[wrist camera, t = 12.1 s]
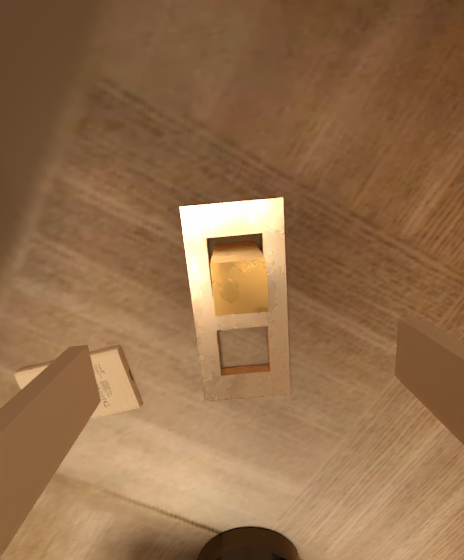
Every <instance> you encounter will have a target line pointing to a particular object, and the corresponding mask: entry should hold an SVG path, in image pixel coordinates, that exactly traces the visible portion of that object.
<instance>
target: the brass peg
mask: <svg viewBox="0 0 464 560" xmlns="http://www.w3.org/2000/svg"><path fill="white" fill-rule="evenodd" d="M210 268H211V278H212V288H213V298H214V308H215V316H221V315H233V314H245V313H258V312H269V304H268V284H267V264H266V258H265V256H264V255H263V254H262V252H261V251H260V249H259V248H258V247H257V245H256V244H255V242H254V241H247V242H235V243H223V244H215V248H214V251H213V255H212V258H211V262H210Z"/></svg>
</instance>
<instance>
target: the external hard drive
mask: <svg viewBox="0 0 464 560" xmlns="http://www.w3.org/2000/svg"><path fill="white" fill-rule="evenodd" d="M89 353H90V357H91V361H92V365H93V370H94V374H95V378H96V382H97V386H98V391H99V395H100V399H101V402H100V403H99V405H98V406H97V408H96V410H95V411H94V413H93V414H92V416H91V417H90V419H93V418H98V417H102V416H106V415H111V414H115V413H119V412H124V411H128V410H132V409H137V408H141V406H142V404H143V403H142V400H141V398H140V395H139V393H138V390H137V388H136V385H135V383H134V380H132V378H131V376H130V373H129V367H128V365H127V362H126V359H125V357H124V354H123V352H122V349H121V347H120V345H119V346H115V347H111V348H106V349H102V350H98V351H94V352H89ZM52 362H53V361H51V362H47V363H43V364H39V365H35V366H30V367H26V368H22V369H19V370H18V371H16V372H15V374H14V375H15V379H16V381H17V382H18V384H19V386H20V388H21V390H22V389H23V388H24V387H25V386H26V385H27V384H28V383H30V382H31V381H32V380H33V379H34V378H35V377H36V376H37V375H39V374H40V373H41V372H42V371H43V370H44V369H45V368H46V367H47V366H49V365H50V364H51V363H52Z"/></svg>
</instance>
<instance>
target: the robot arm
mask: <svg viewBox="0 0 464 560" xmlns="http://www.w3.org/2000/svg"><path fill="white" fill-rule="evenodd" d="M395 376H396V377H397V378H398V379H399V380H400V381H401V382H402V383H403V384H404V385H405V386H406V387H407V388H408V389H409V390H410V391H411V392H412V393H413V394H414V395H415V396H416V397H417V398H418V399H419V400H420V401H421V402H422V403H423V404H424V405H425V406H426V407H427V408H428V409H429V410H430V411H431V412H432V413H433V414H434V415H435V416H436V417H437V418H438V419H439V420H440V421H441V422H442V423H443V424H444V425H445V426H446V427H447V428H448V429H449V430H450V431H451V432H452V433H453V434H454V435H455V436H456V437H457V438H458V439H459V440H460V441H461V442H462V443H463V444H464V343H463V342H461V341H459V340H457V339H456V338H454V337H452V336H451V335H449V334H447V333H445V332H444V331H442V330H440V329H438V328H437V327H435V326H433V325H432V324H430V323H428V322H426V321H425V320H423V319H421V318H419V317H418V316H413V317H402V318H399V323H398V337H397V352H396V367H395ZM100 402H101V399H100V395H99V391H98V386H97V382H96V378H95V374H94V370H93V365H92V361H91V357H90V353H89V349H88V345H83V346H72V347H69V348H68V349H66V350H65V351H64V352H63V353H62V354H61V355H60V356H59V357H57V358H56V359H55V360H54V361H53V362H52V363H51V364H50V365H49V366H47V367H46V368H45V369H44V370H43V371H42V372H41V373H40V374H39V375H37V376H36V377H35V378H34V379H33V380H32V381H31V382H30V383H28V384H27V385H26V386H25V387H24V388H23V389H22V390H21V391H20V392H18V393H17V394H16V395H15V396H14V397H13V398H12V399H11V400H10V401H8V402H7V403H6V404H5V405H4V406H3V407H2V408H1V409H0V557H1V556H2V554H3V553H4V551H5V549H6V548H7V546H8V545H9V543H10V542H11V540H12V539H13V537H14V535H15V534H16V532H17V531H18V529H19V528H20V526H21V525H22V523H23V521H24V520H25V518H26V517H27V515H28V514H29V512H30V511H31V509H32V508H33V506H34V504H35V503H36V501H37V500H38V498H39V497H40V495H41V494H42V492H43V490H44V489H45V487H46V486H47V484H48V483H49V481H50V480H51V478H52V476H53V475H54V473H55V472H56V470H57V469H58V467H59V466H60V464H61V462H62V461H63V459H64V458H65V456H66V455H67V453H68V452H69V450H70V448H71V447H72V445H73V444H74V442H75V441H76V439H77V438H78V436H79V434H80V433H81V431H82V430H83V428H84V427H85V425H86V424H87V422H88V420H89V419H90V417H91V416H92V414H93V413H94V411H95V410H96V408H97V406H98V405H99V403H100ZM198 560H299V557H298V553H297V551H296V549H295V548H294V546H293V545H292V544H291V543H290V542H289V541H288V540H287V539H286V538H284V537H283V536H281V535H279V534H277V533H275V532H272V531H269V530H265V529H259V528H242V529H236V530H232V531H228V532H225V533H223V534H221V535H219V536H217V537H215V538H214V539H212V540H211V541H210V542H209V543H208V544H207V545H206V546H205V547H204V548H203V550H202V551H201V553H200V555H199V558H198Z"/></svg>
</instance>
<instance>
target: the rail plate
mask: <svg viewBox="0 0 464 560" xmlns="http://www.w3.org/2000/svg"><path fill="white" fill-rule="evenodd" d="M179 208H180V215H181V223H182V230H183V238H184V246H185V253H186V261H187V269H188V276H189V284H190V291H191V299H192V307H193V314H194V322H195V329H196V337H197V345H198V352H199V360H200V367H201V375H202V383H203V390H204V398H205V401H215V400H227V399H238V398H250V397H262V396H273V395H285V394H291V390H290V363H289V337H288V311H287V284H286V258H285V232H284V206H283V198H272V199H261V200H250V201H239V202H228V203H216V204H205V205H194V206H183V207H179ZM257 233H261V248H262V254H263V255H264V256H265V258H266V264H267V284H268V304H269V312H258V313H245V314H233V315H221V316H215V308H214V298H213V288H212V278H211V269H210V260H209V251H208V242H207V238H213V237H224V236H235V235H246V234H257ZM262 326H266V331H267V348H268V364H265V365H254V366H242V367H231V368H221V360H220V351H219V342H218V333H217V330H228V329H240V328H251V327H262Z"/></svg>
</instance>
